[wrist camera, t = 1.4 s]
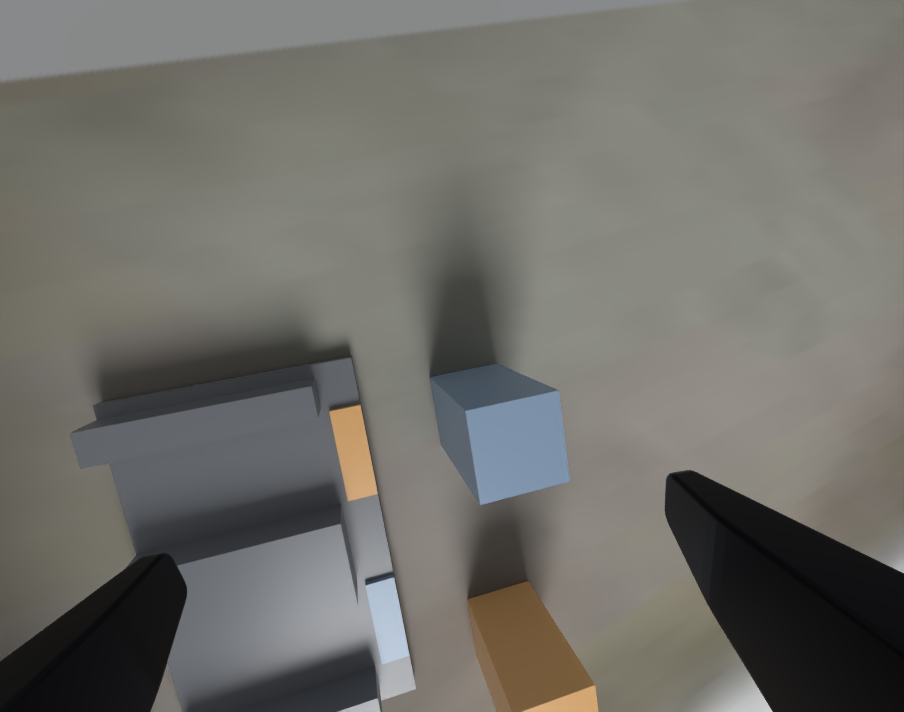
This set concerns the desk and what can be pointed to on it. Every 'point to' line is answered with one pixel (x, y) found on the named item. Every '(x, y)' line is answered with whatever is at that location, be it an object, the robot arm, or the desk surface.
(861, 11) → the desk surface
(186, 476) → the grey slotted base
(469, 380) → the blue plug
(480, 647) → the tan rectangular box
